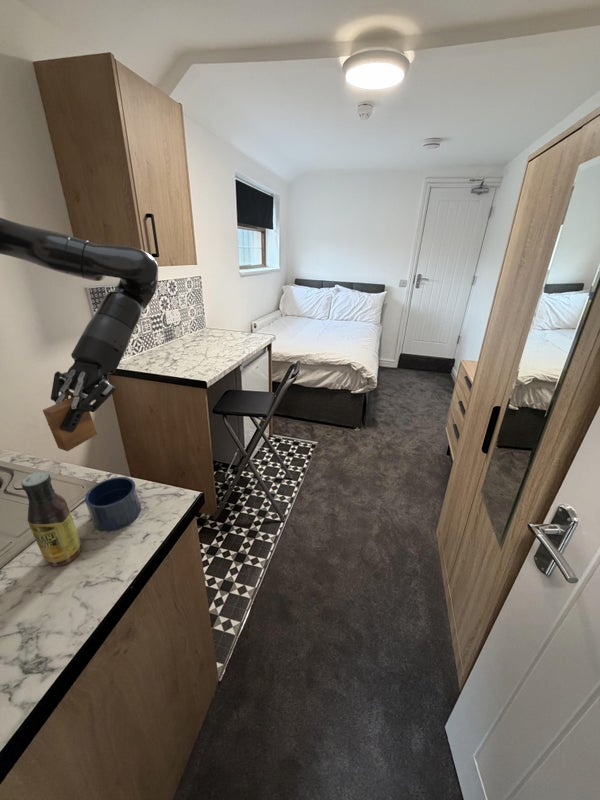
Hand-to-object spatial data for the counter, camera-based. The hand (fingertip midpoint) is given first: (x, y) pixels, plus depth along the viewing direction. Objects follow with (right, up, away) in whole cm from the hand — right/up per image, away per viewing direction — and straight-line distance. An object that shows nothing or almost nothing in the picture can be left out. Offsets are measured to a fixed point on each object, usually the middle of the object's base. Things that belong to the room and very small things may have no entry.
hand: (60, 428), depth 57 cm
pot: (0, -22, +19) cm, 29 cm away
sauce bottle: (-5, -27, +9) cm, 29 cm away
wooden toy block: (+1, -3, +4) cm, 5 cm away
